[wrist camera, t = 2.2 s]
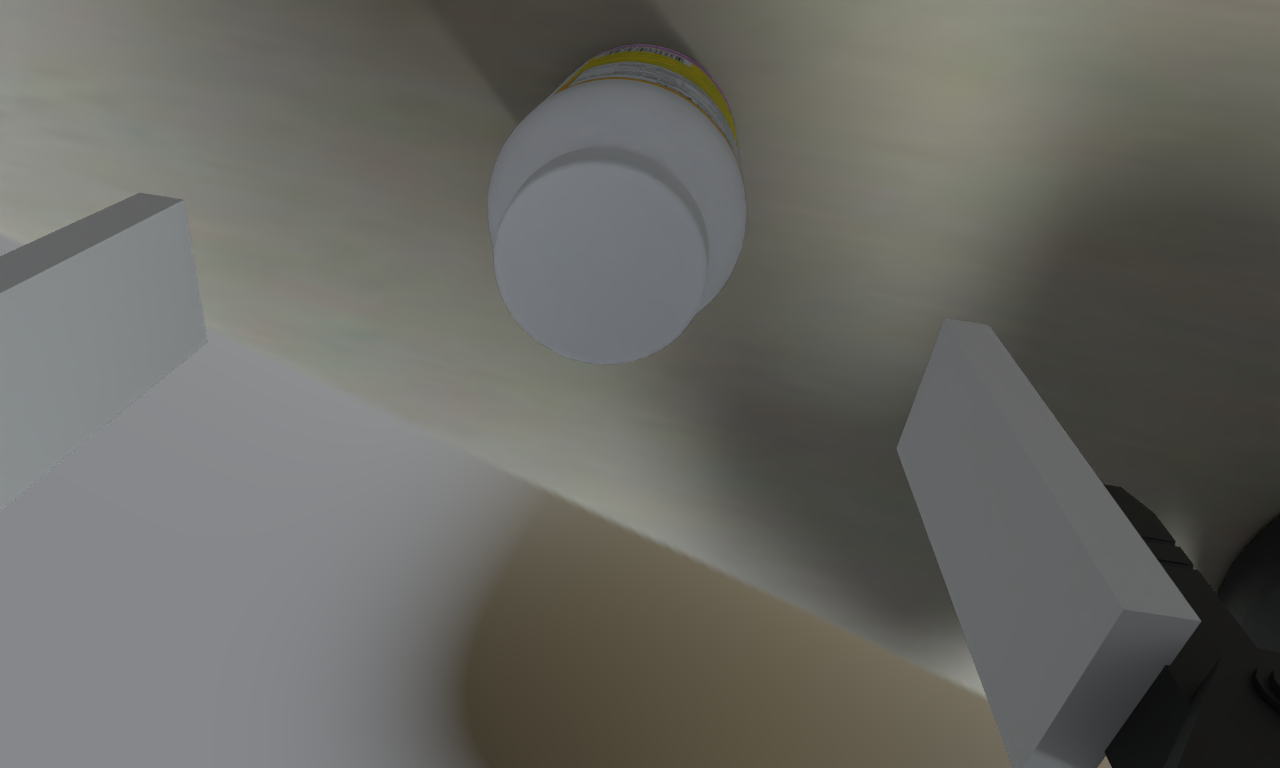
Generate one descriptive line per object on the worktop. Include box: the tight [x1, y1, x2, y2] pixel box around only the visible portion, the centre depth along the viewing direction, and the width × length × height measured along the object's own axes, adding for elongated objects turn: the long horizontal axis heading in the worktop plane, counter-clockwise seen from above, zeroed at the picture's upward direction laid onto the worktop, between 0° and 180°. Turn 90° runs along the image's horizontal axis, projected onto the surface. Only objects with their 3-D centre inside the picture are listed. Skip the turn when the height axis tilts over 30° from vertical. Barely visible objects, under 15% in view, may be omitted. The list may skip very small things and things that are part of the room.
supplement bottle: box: [487, 44, 746, 364], centre depth 22 cm, size 7×7×13 cm
